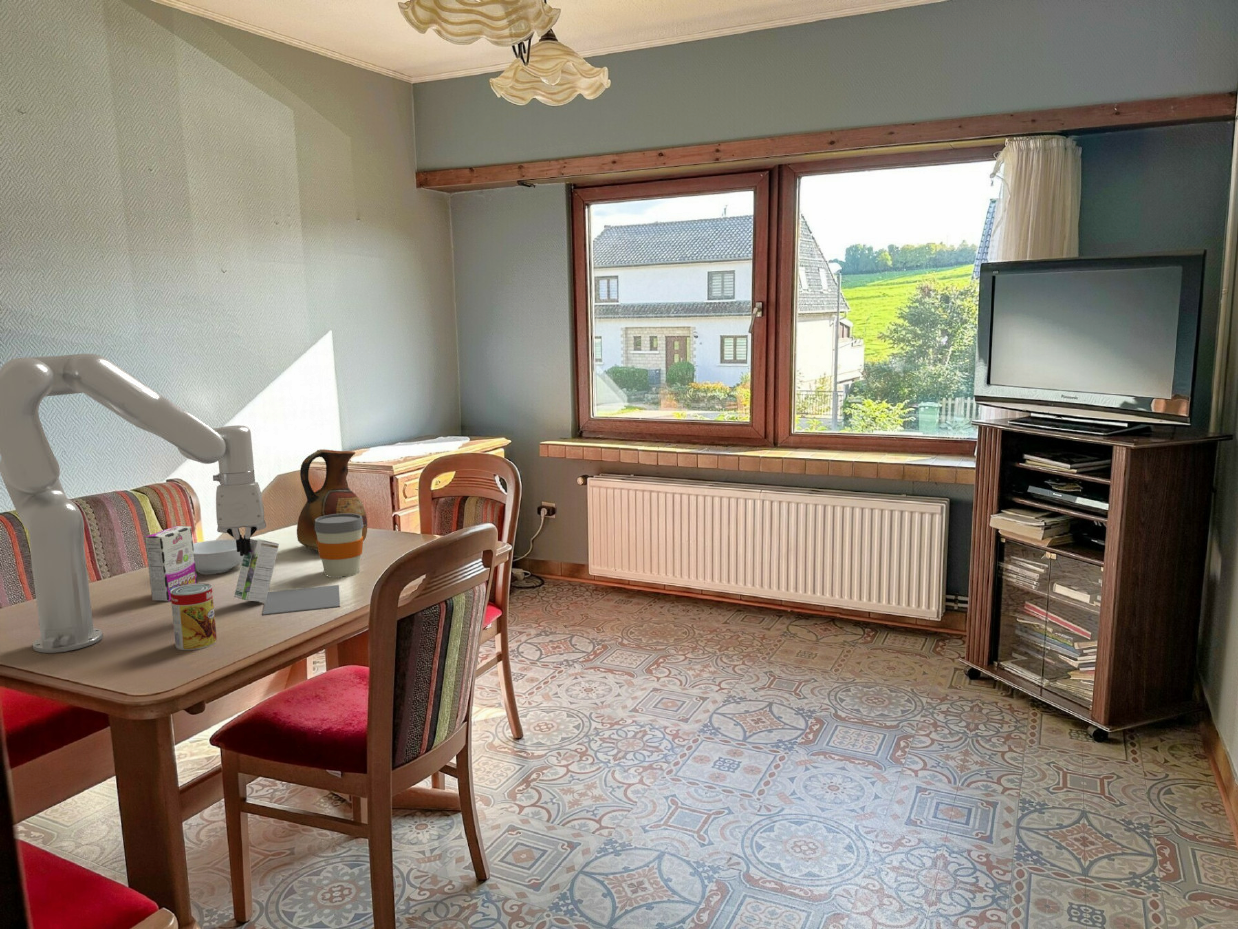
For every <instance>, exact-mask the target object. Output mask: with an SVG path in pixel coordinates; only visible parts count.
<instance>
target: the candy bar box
mask: <svg viewBox="0 0 1238 929" xmlns="http://www.w3.org/2000/svg"><path fill="white" fill-rule="evenodd" d="M193 539H194V538H193V533H192V526H187V525H181V526H180V525H175V526H172V527H169V528H166V529H163V530H161V531H158V532H155V533H152V534H150V535H146V536H144V541H145V542H144V543H145V548H146V558H147V565H148V567H147V568H148V574H149V585H150V591H151V592H150V593H151V599H152V601H154V602H171V601H170V600H171V595H170V591H171V590H172V589H173V588H176V587H178V586H182V585H187V584H194V583H198V578H197V577H198V576H197V571H196V566H195V558H194V548H193V543H194V541H193Z"/></svg>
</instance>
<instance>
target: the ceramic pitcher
mask: <svg viewBox="0 0 1238 929" xmlns="http://www.w3.org/2000/svg"><path fill="white" fill-rule="evenodd" d="M355 454H356V452H355V451H351V450H349V451H347V450H346V451H345V450H333V449H325V448H324V449H321V448H320V449H317V450H316V451H315V452H313V453H311V454H309V455H308V456H306V458H305V459H304V460H303V461H302V463H301V466H300V472H299V474H300V481H301V485H302V488H303V489H304V493H305V496H306V502H305V504H304V506H303V507H302V508H301V510H300V513H299V515H298V520H297V524H296V536H297V537H296V538H297V541H298V543H299V544H301V546H303V547H304V548H306V549H310V550H314V551H318V547H317V542H316V541H317V534H316V532H315V519H316V518H318V517H322V516H326V515H332V514H346V513H347V514H358V515H361V516H362V520H363V525H364V527H363V528H362V536H363V542H364V541H365V539H366V538H367V534H368V517H367V514H366V513H367V512H366V509H365V506H364V504H363V502H362V501H361V499H360V498H359V497H358V496H357V494H356V493H355V492H353V490H351V489H350V488H349V484H348V480H347V477H348V474H349V462H350V460H351V459H352V457H354V456H355ZM317 458H322V459H323V460H324V464H325V477H324V478H325V479H324V483H323V485H322V486H321V488H320V489H318V490H316V491H315V492H314V490H313V488H312V487H311V484H310V479H309V474H310V473H309V471H310V467H311V465H312V462H313V461H314V460H316V459H317Z"/></svg>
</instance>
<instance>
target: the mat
mask: <svg viewBox="0 0 1238 929" xmlns="http://www.w3.org/2000/svg"><path fill="white" fill-rule="evenodd" d="M340 607H341V604H340V585H339V584H336V585H333V584H332V585H326V586H325V585H324V586H316V587H305V588H295V589H293V588H292V589H285V590H284V589H283V590H275V591H268V594H267V599H266V602H264V606H263V610H262V616H269V615H276V614H278V615H279V614H285V613H288V614H289V613H296V612H306V611H312V610H313V611H315V610H322V609H321V608H325V609H333V608H340Z"/></svg>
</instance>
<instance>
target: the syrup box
mask: <svg viewBox="0 0 1238 929" xmlns="http://www.w3.org/2000/svg"><path fill="white" fill-rule="evenodd" d="M250 544H251V551H248V556H245V555H244V557H243V561H242V562H241V564H240V565H241V566H240V569H239V573H238V578H237V579H238V580H237V582H236V586H235V591H234V595H233V596H234V598H238V599H240V600H242V601H251V602H252V601H253V602H261V603H265V602H266V599H267V594H268V592H269V591H270V590H269V589H270V586H271V580H272V578H273V576H272V575H273V572H274V568H275V564H276V558H277V554H278V551H279V550H278V549H279V545H280V543H278V542H275V541H274V542H273V541H269V540H265V539H261V538H253V537H250Z"/></svg>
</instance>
